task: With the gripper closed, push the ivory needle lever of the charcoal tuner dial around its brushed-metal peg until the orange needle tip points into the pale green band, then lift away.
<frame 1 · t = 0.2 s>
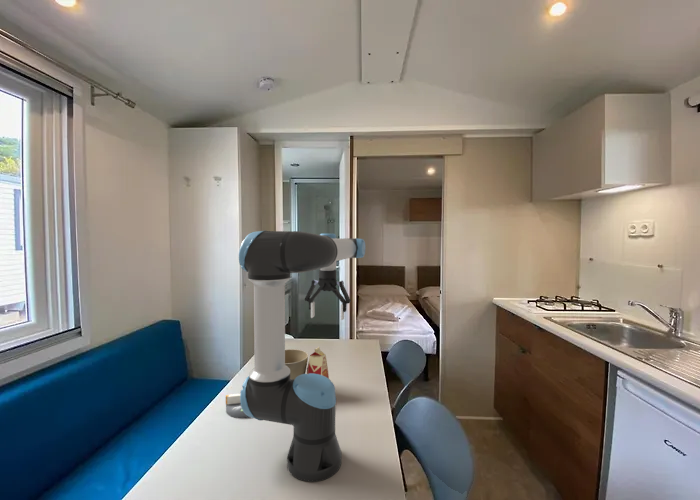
hand: (327, 318, 141), 28 cm above the table, fingers open, 13 cm apart
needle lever: (238, 396, 119), point 5 cm above the table, hinge at 120.0°
milk carton: (316, 397, 128), on the table
dial base: (246, 407, 120), on the table
plant pot: (289, 395, 129), on the table
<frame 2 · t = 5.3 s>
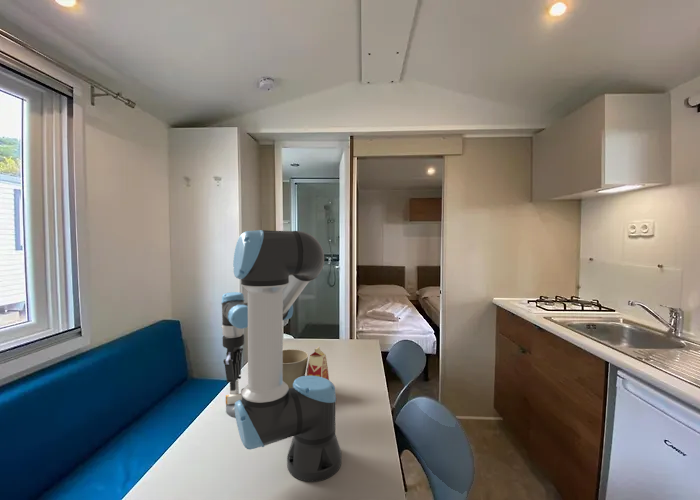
hand: (234, 397, 120), 3 cm above the table, fingers closed
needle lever: (238, 396, 119), point 4 cm above the table, hinge at 120.0°, touching gripper
everything else where it was.
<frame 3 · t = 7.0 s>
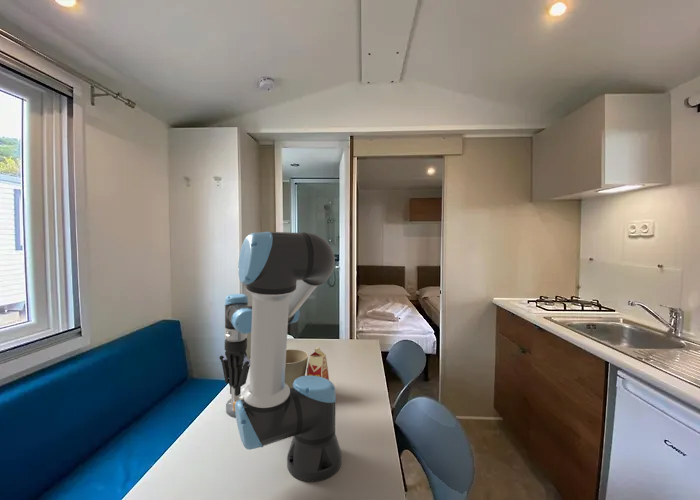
hand: (235, 403, 116), 4 cm above the table, fingers closed
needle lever: (241, 398, 117), point 5 cm above the table, hinge at 179.7°, touching gripper
everything else where it was.
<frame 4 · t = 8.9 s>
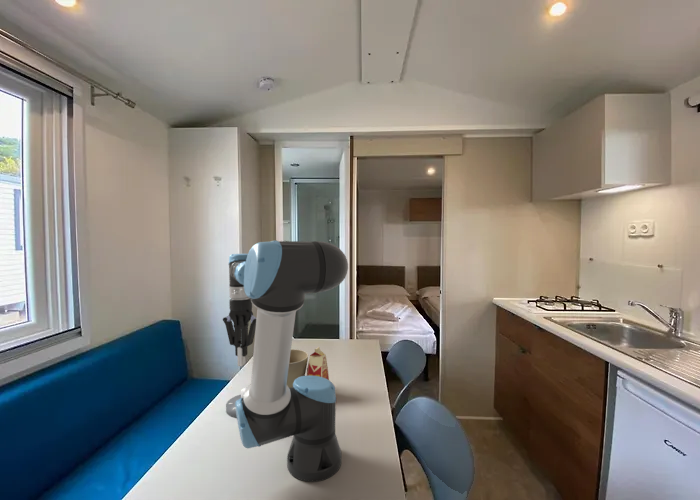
hand: (241, 364, 114), 18 cm above the table, fingers closed
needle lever: (246, 398, 117), point 4 cm above the table, hinge at 215.8°
everything else where it was.
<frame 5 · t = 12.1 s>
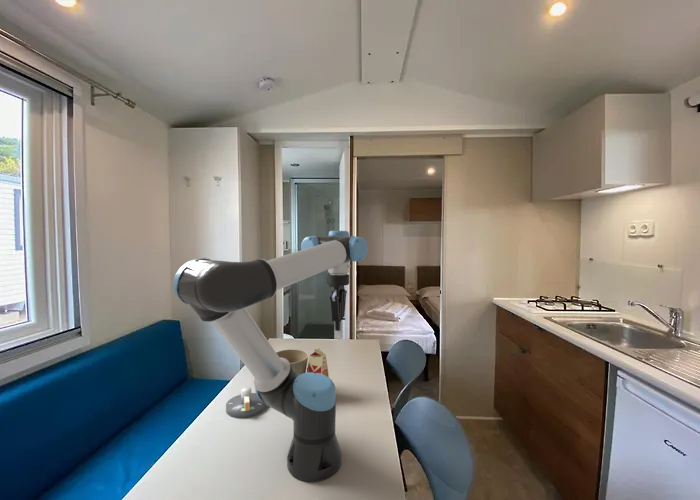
hand: (338, 338, 118), 26 cm above the table, fingers closed
nothing on the table moved.
at the end: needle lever at +216° (first picture: +120°) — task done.
